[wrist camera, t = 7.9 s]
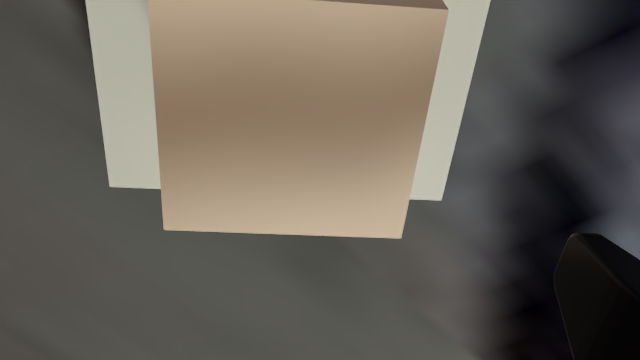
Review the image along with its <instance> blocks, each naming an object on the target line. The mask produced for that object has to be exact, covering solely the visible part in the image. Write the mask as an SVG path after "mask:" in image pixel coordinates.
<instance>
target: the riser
mask: <svg viewBox="0 0 640 360" xmlns="http://www.w3.org/2000/svg"><path fill="white" fill-rule="evenodd" d="M85 1H86V9H87V16H88V24H89V32H90V39H91V47H92V55H93V63H94V70H95V78H96V86H97V93H98V101H99V109H100V116H101V124H102V132H103V139H104V147H105V155H106V163H107V170H108V178H109V186H110V187H125V188H149V189H161V183H160V169H159V155H158V141H157V127H156V113H155V99H154V85H153V71H152V57H151V43H150V29H149V15H148V1H147V0H85ZM490 1H491V0H443V2H444V3H445V5H446V6H447V8H448V9H449V12H448V17H447V22H446V27H445V31H444V36H443V41H442V46H441V51H440V55H439V60H438V65H437V70H436V74H435V79H434V84H433V89H432V93H431V98H430V103H429V108H428V113H427V117H426V122H425V127H424V132H423V136H422V141H421V146H420V151H419V155H418V160H417V165H416V170H415V175H414V179H413V184H412V189H411V194H410V198H409V199H417V200H442V196H443V192H444V188H445V184H446V180H447V176H448V172H449V168H450V164H451V160H452V156H453V151H454V147H455V143H456V139H457V135H458V131H459V127H460V123H461V119H462V115H463V111H464V107H465V103H466V98H467V94H468V90H469V86H470V82H471V78H472V74H473V70H474V66H475V62H476V58H477V54H478V50H479V45H480V41H481V37H482V33H483V29H484V25H485V21H486V17H487V13H488V9H489V5H490Z"/></svg>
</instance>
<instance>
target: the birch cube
mask: <svg viewBox="0 0 640 360" xmlns="http://www.w3.org/2000/svg"><path fill="white" fill-rule="evenodd" d="M147 1H148V15H149V29H150V43H151V57H152V71H153V85H154V99H155V113H156V127H157V141H158V155H159V169H160V183H161V197H162V211H163V225H164V230H177V231H205V232H233V233H261V234H289V235H317V236H345V237H372V238H400V239H401V237H402V232H403V227H404V222H405V217H406V213H407V208H408V203H409V198H410V194H411V189H412V184H413V179H414V175H415V170H416V165H417V160H418V155H419V151H420V146H421V141H422V136H423V132H424V127H425V122H426V117H427V113H428V108H429V103H430V98H431V93H432V89H433V84H434V79H435V74H436V70H437V65H438V60H439V55H440V51H441V46H442V41H443V36H444V31H445V27H446V22H447V17H448V12H449V9H448V8H447V6H446V5H445V3H444V2H443V0H147Z"/></svg>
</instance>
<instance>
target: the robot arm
mask: <svg viewBox="0 0 640 360" xmlns="http://www.w3.org/2000/svg"><path fill="white" fill-rule="evenodd" d="M554 288H555V292H556V295H557V299H558V303H559V307H560V310H561V314H562V318H563V322H564V325H565V329H566V333H567V336H568V340H569V344H570V348H571V351H572V355H573V359H574V360H640V260H639V259H638V258H636V257H634V256H633V255H631V254H630V253H628V252H627V251H625V250H624V249H622V248H621V247H619V246H617V245H616V244H614V243H613V242H611V241H610V240H608V239H607V238H605V237H604V236H602V235H600V234H595V233H575V234H572V235H571V236H570V237H569V238H568V240H567V242H566V245H565V247H564V250H563V252H562V255H561V257H560V260H559V262H558V264H557V267H556V269H555V273H554Z"/></svg>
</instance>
